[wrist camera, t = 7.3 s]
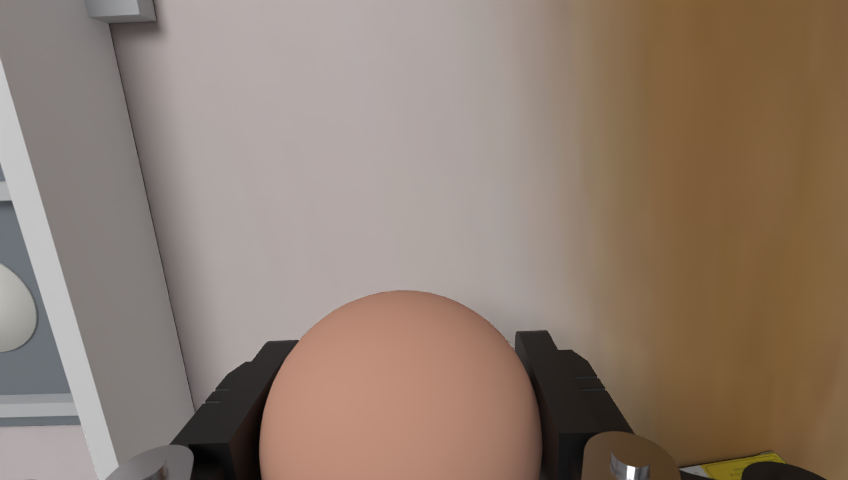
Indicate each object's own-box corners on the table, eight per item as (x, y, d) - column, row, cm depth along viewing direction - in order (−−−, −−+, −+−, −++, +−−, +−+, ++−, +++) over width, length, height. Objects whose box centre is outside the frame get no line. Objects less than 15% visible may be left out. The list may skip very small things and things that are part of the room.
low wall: (131, -107, 12) (-3, -212, 9) (259, 550, 19) (216, 656, 15) (3, -99, 13) (-187, -200, 9) (175, 552, 19) (111, 657, 16)
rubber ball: (513, 250, 10) (597, 386, 5) (513, 435, 12) (578, 691, 6) (295, 262, 10) (153, 402, 5) (323, 441, 12) (234, 693, 7)
